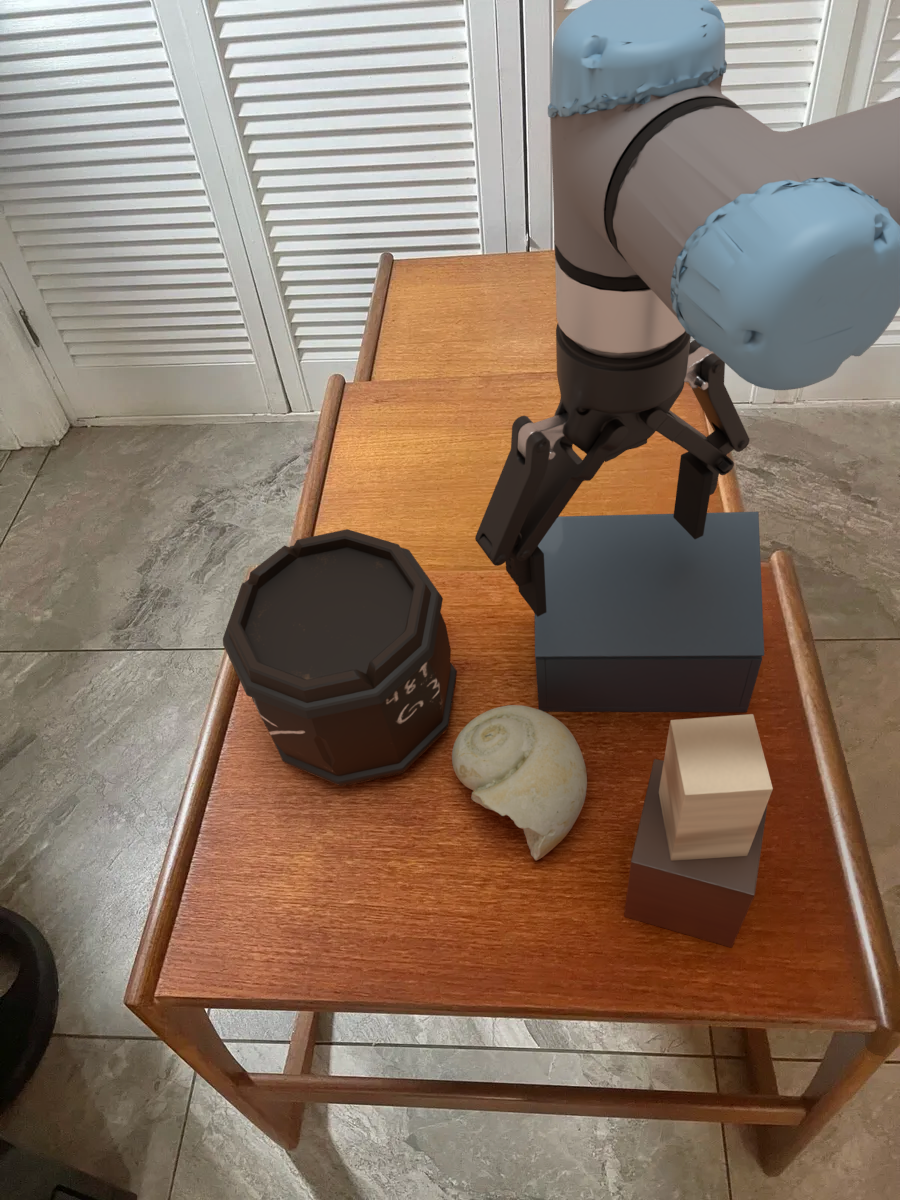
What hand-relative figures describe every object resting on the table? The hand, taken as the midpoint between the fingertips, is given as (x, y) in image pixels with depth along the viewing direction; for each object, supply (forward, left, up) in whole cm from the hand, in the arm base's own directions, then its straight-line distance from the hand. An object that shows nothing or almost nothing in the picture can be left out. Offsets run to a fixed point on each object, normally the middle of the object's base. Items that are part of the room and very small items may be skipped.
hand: (611, 563), depth 67 cm
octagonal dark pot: (-7, +21, -18) cm, 29 cm away
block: (-15, -10, -7) cm, 19 cm away
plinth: (-15, -10, -18) cm, 26 cm away
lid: (+4, -2, -7) cm, 8 cm away
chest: (+4, -2, -18) cm, 18 cm away
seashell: (-11, +4, -18) cm, 22 cm away
